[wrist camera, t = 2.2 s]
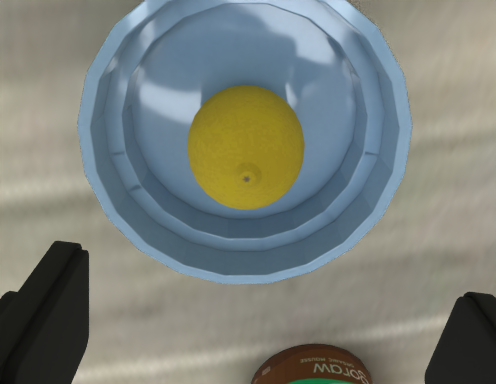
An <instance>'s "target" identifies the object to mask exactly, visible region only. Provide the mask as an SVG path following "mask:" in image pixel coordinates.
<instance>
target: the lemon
mask: <svg viewBox="0 0 496 384" xmlns="http://www.w3.org/2000/svg"><path fill="white" fill-rule="evenodd" d="M304 148H305V142H304V137H303V131H302V126H301V124H300V122H299V120H298V118H297V116H296V114H295V112H294V111H293V109H292V108H291V107H290V106H289V105H288V104H287V102H286V101H285V100H284V99H283V98H281V97H280V96H278V95H277V94H275V93H274V92H272V91H271V90H268V89H265V88H262V87H259V86H253V85H239V86H233V87H228V88H226V89H224V90H222V91H220V92H217V93H216V94H214V95H213V96H212V97H211V98H209V99H208V100H207V101H206V102H204V104H203V105H202V106H201V108H200V109H199V110H198V112H197V113H196V114H195V116H194V119H193V121H192V124H191V127H190V129H189V133H188V143H187V152H188V158H189V164H190V168H191V170H192V172H193V174H194V176H195V179H196V181H197V182H198V184H199V185H200V186H201V188H202V189H203V190H204V191H205V192H206V194H208V195H209V196H210V197H212V198H213V199H214V200H216V201H217V202H218V203H221V204H223V205H225V206H227V207H230V208H235V209H241V210H249V209H258V208H261V207H265V206H268V205H270V204H272V203H273V202H275V201H277V200H279V199H280V198H281V197H282V196H283V195H284V194H285V193H287V192H288V191H289V190H290V188H291V187H292V185H293V184H294V182H295V181H296V179H297V178H298V175H299V172H300V169H301V167H302V164H303V159H304Z"/></svg>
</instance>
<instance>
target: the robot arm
mask: <svg viewBox="0 0 496 384" xmlns="http://www.w3.org/2000/svg"><path fill="white" fill-rule="evenodd" d="M88 338H89V253H88V251H87V250H82V247H81V244H79V243H72V242H63V241H55V242H54V243H53V244H52V245H51V247H50V248H49V250H48V251H47V252H46V254H45V255H44V257H43V258H42V259H41V261H40V262H39V263H38V265H37V266H36V268H35V269H34V270H33V272H32V273H31V275H30V276H29V277H28V279H27V280H26V281H25V283H24V284H23V286H22V287H21V288H20V290H19V291H18V292H14V291H9V292H7V293H5V294H4V295H3V296H2V297H1V299H0V384H71V383H72V380H73V378H74V376H75V373H76V371H77V369H78V366H79V364H80V362H81V359H82V357H83V355H84V353H85V350H86V347H87V343H88ZM425 384H496V298H495V297H494V296H493V295H490V294H484V293H476V292H467V293H466V294H464V296H463V297H459V298H458V299H457V301H456V303H455V305H454V307H453V310H452V312H451V314H450V317H449V319H448V321H447V323H446V326H445V328H444V330H443V333H442V335H441V337H440V339H439V342H438V344H437V346H436V349H435V351H434V353H433V356H432V358H431V360H430V362H429V365H428V367H427V369H426V372H425Z"/></svg>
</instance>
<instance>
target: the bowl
mask: <svg viewBox="0 0 496 384" xmlns="http://www.w3.org/2000/svg"><path fill="white" fill-rule="evenodd" d="M239 85H253V86H259V87H262V88H265V89H268V90H271V91H272V92H274V93H275V94H277V95H278V96H280V97H281V98H283V99H284V100H285V101H286V102H287V104H288V105H289V106H290V107H291V108H292V109H293V111H294V112H295V114H296V116H297V118H298V120H299V122H300V124H301V126H302V131H303V137H304V142H305V148H304V159H303V164H302V167H301V169H300V172H299V175H298V178H297V179H296V181H295V182H294V184H293V185H292V187H291V188H290V190H289V191H288V192H287V193H285V194H284V195H283V196H282V197H281V198H280V199H279V200H277V201H275V202H273V203H272V204H270V205H268V206H265V207H261V208H258V209H249V210H241V209H235V208H230V207H227V206H225V205H223V204H221V203H218V202H217V201H216V200H214V199H213V198H212V197H210V196H209V195H208V194H206V192H205V191H204V190H203V189H202V188H201V186H200V185H199V184H198V182H197V181H196V179H195V176H194V174H193V172H192V170H191V168H190V164H189V158H188V152H187V143H188V133H189V129H190V127H191V124H192V121H193V119H194V116H195V114H196V113H197V112H198V110H199V109H200V108H201V106H202V105H203V104H204V102H206V101H207V100H208V99H209V98H211V97H212V96H213V95H214V94H216V93H217V92H220V91H222V90H224V89H226V88H228V87H233V86H239ZM77 129H78V135H79V141H80V147H81V153H82V160H83V166H84V172H85V175H86V178H87V179H88V181H89V183H90V185H91V187H92V189H93V191H94V193H95V195H96V197H97V199H98V201H99V203H100V205H101V207H102V208H103V210H104V212H105V214H106V216H107V218H108V219H109V220H110V221H111V222H112V223H113V224H114V225H115V226H116V227H117V228H118V229H119V230H120V231H121V232H122V233H123V234H124V235H125V236H126V237H127V238H128V239H129V240H130V241H131V242H132V243H133V244H134V246H135V247H136V248H137V249H138V250H140V251H142V252H143V253H145V254H147V255H149V256H150V257H152V258H154V259H156V260H157V261H159V262H161V263H163V264H164V265H166V266H168V267H170V268H171V269H173V270H175V271H177V272H179V273H182V274H186V275H189V276H193V277H197V278H201V279H205V280H209V281H213V282H217V283H220V284H222V283H223V284H267V283H272V282H276V281H280V280H284V279H287V278H291V277H295V276H299V275H302V274H306V273H310V271H311V272H312V271H314V270H316V269H317V268H319V267H321V266H322V265H324V264H326V263H328V262H329V261H331V260H333V259H335V258H336V257H338V256H340V255H341V254H343V253H345V252H347V251H348V250H349V249H351V248H352V247H353V246H354V245H355V244H356V243H357V242H358V241H359V240H360V239H361V238H362V237H363V236H364V235H365V234H366V233H367V232H368V231H369V230H370V229H371V228H372V227H373V226H374V225H375V224H376V223H377V222H378V221H379V220H380V219H381V218H382V216H383V215H384V213H385V211H386V209H387V207H388V205H389V203H390V201H391V199H392V197H393V195H394V194H395V192H396V190H397V188H398V186H399V184H400V182H401V180H402V178H403V176H404V174H405V168H406V162H407V156H408V150H409V144H410V139H411V133H412V119H411V113H410V107H409V101H408V95H407V89H406V83H405V76H404V73H403V72H402V70H401V68H400V66H399V64H398V63H397V61H396V59H395V57H394V55H393V54H392V52H391V50H390V48H389V46H388V45H387V43H386V41H385V39H384V37H383V36H382V34H381V32H380V30H379V28H377V26H376V25H375V24H374V23H373V22H371V21H370V20H369V19H368V18H367V17H366V16H364V15H363V14H362V13H361V12H360V11H359V10H358V9H356V8H355V7H354V6H353V5H352V4H351V3H349V2H348V1H347V0H144V1H143V2H141V3H140V4H139V5H138V6H137V7H135V8H134V9H133V10H132V11H130V12H129V13H128V14H127V15H126V16H124V17H123V18H122V19H121V20H120V21H118V22H117V23H116V24H115V26H113V28H112V29H111V31H110V33H109V35H108V36H107V38H106V40H105V42H104V43H103V45H102V47H101V48H100V50H99V52H98V54H97V55H96V57H95V59H94V61H93V62H92V64H91V66H90V68H89V69H88V71H87V74H86V77H85V83H84V88H83V94H82V99H81V105H80V111H79V116H78V122H77Z"/></svg>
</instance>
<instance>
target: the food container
mask: <svg viewBox="0 0 496 384" xmlns="http://www.w3.org/2000/svg"><path fill="white" fill-rule="evenodd" d="M251 384H374V383H373V381H372V379H371V376H370V374H369V372H368V371H367V369H366V368H365V366H364V365H363V363H362V362H361V360H360V359H358V358H357V357H355V356H354V355H352V354H351V353H349V352H348V351H347V350H344V349H341V348H338V347H335V346H330V345H324V344H309V345H301V346H297V347H293V348H290V349H287V350H284V351H282V352H280V353H278V354H276V355H274V356H273V357H272V358H270V359H269V360H267V361H266V362H265V363H264V364H263V365H262V366H261V367H260V368H259V370H258V371H257V372H256V374H255V376H254V378H253V379H252V382H251Z"/></svg>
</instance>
